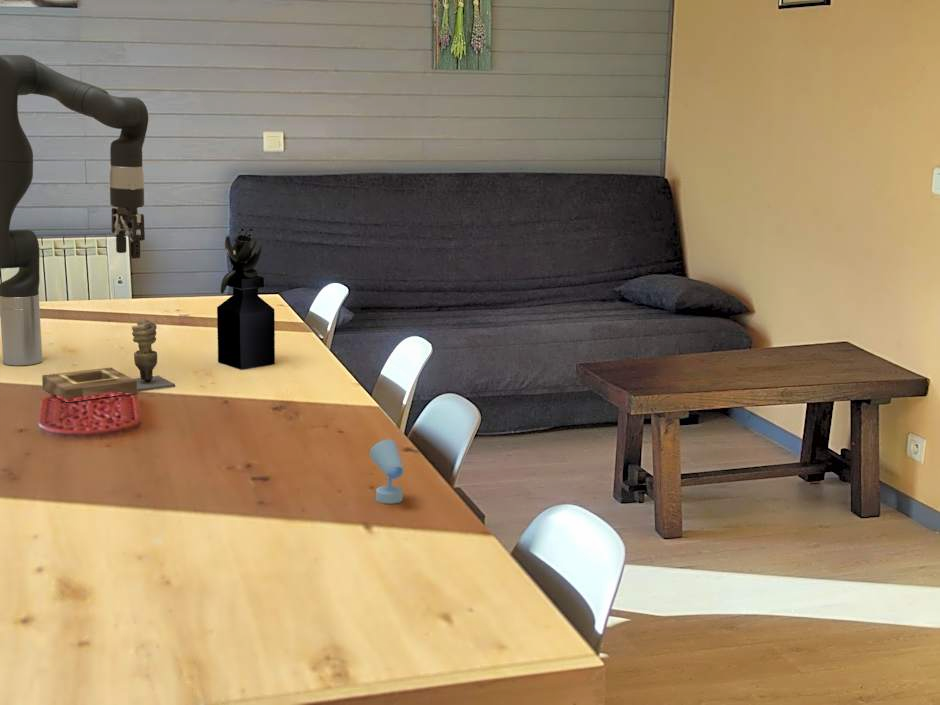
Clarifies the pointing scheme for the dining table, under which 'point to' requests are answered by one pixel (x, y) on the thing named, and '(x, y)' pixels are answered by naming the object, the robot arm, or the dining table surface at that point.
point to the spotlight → (388, 470)
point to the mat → (153, 384)
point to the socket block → (88, 383)
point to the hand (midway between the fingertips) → (128, 255)
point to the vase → (245, 312)
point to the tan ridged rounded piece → (145, 348)
